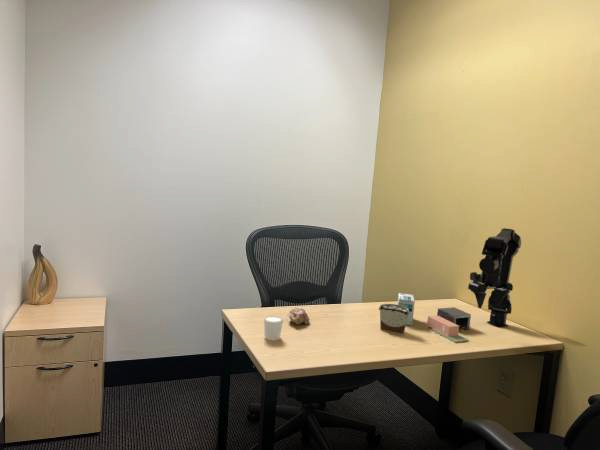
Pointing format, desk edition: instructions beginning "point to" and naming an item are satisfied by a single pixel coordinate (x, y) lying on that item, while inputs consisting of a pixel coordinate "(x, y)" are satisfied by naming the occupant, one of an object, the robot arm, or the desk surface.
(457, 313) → the dispenser
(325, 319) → the desk surface
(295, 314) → the mineral specimen
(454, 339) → the green block
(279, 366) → the desk surface
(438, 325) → the pink block
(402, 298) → the light bulb box
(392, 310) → the food container
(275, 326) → the white cylinder
